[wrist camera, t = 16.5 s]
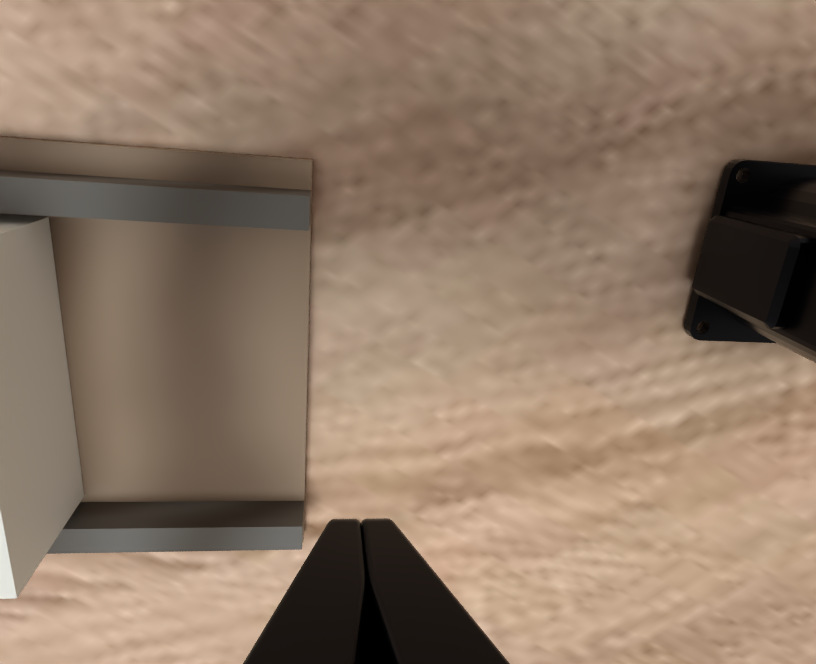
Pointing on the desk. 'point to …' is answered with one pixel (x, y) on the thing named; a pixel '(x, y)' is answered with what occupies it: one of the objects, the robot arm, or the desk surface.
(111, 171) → the rail board
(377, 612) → the robot arm
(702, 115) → the desk surface
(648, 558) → the desk surface
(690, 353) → the desk surface
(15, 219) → the socket block
